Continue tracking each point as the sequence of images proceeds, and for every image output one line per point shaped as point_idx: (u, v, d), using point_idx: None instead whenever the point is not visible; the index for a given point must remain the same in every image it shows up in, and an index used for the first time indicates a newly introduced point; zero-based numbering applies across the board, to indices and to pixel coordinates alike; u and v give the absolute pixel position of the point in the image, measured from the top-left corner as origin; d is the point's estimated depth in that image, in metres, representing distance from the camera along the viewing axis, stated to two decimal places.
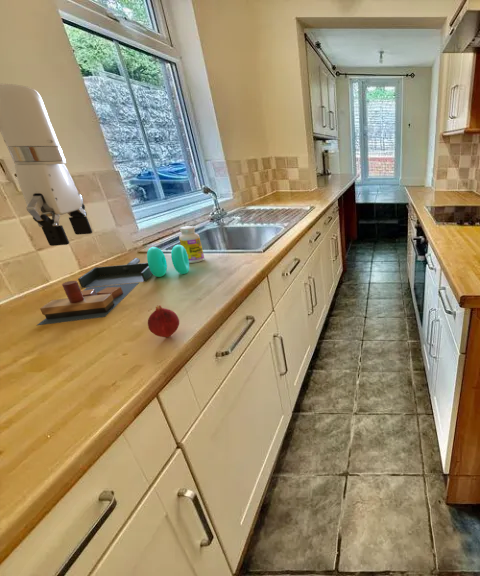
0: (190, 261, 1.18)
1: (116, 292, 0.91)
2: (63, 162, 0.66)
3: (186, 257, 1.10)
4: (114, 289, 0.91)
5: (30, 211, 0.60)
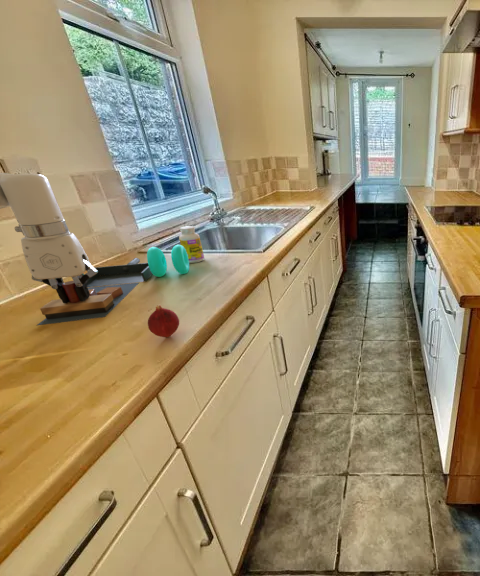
0: (190, 261, 1.18)
1: (116, 292, 0.91)
2: None
3: (186, 257, 1.10)
4: (114, 289, 0.91)
5: None
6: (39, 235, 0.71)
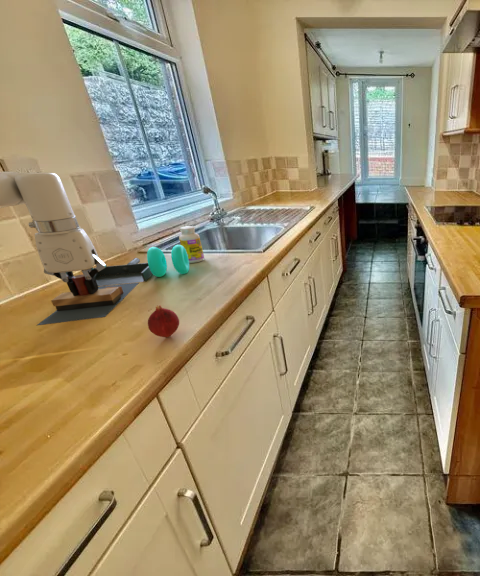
0: (190, 261, 1.18)
1: None
2: None
3: (186, 257, 1.10)
4: None
5: (103, 268, 0.85)
6: (52, 230, 0.75)
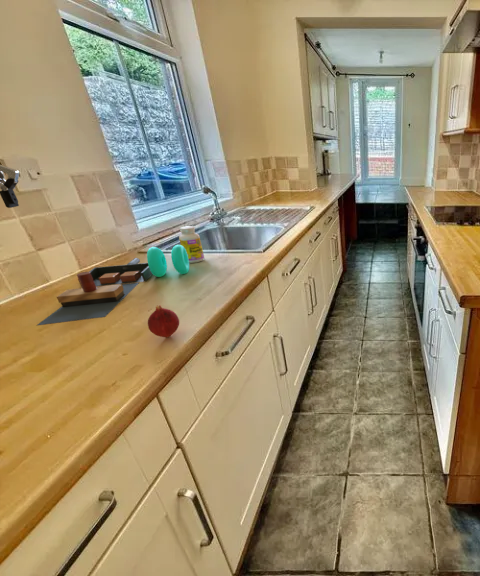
0: (190, 261, 1.18)
1: (137, 274, 1.04)
2: None
3: (186, 257, 1.10)
4: (134, 272, 1.03)
5: (16, 174, 0.76)
6: None
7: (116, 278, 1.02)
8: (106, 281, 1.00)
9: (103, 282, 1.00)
